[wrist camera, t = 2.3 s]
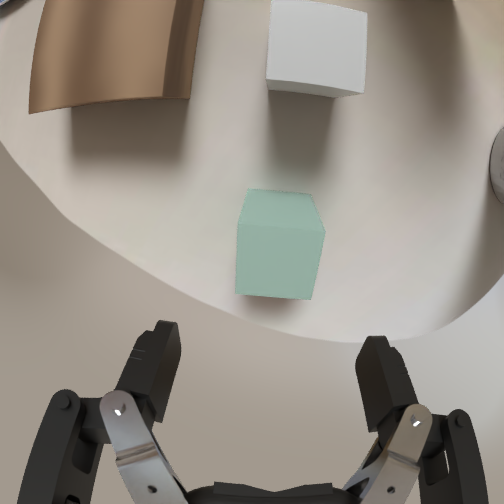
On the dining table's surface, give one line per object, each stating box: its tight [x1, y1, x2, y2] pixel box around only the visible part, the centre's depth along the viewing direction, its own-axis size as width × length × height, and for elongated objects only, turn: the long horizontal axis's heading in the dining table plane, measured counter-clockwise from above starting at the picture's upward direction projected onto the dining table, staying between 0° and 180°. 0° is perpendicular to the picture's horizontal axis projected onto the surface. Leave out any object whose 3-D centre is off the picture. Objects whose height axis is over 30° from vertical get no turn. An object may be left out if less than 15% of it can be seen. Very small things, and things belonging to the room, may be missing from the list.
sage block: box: [235, 189, 326, 300], centre depth 20 cm, size 5×5×7 cm
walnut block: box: [29, 0, 204, 114], centre depth 13 cm, size 12×12×6 cm
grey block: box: [266, 0, 367, 98], centre depth 13 cm, size 5×5×7 cm
